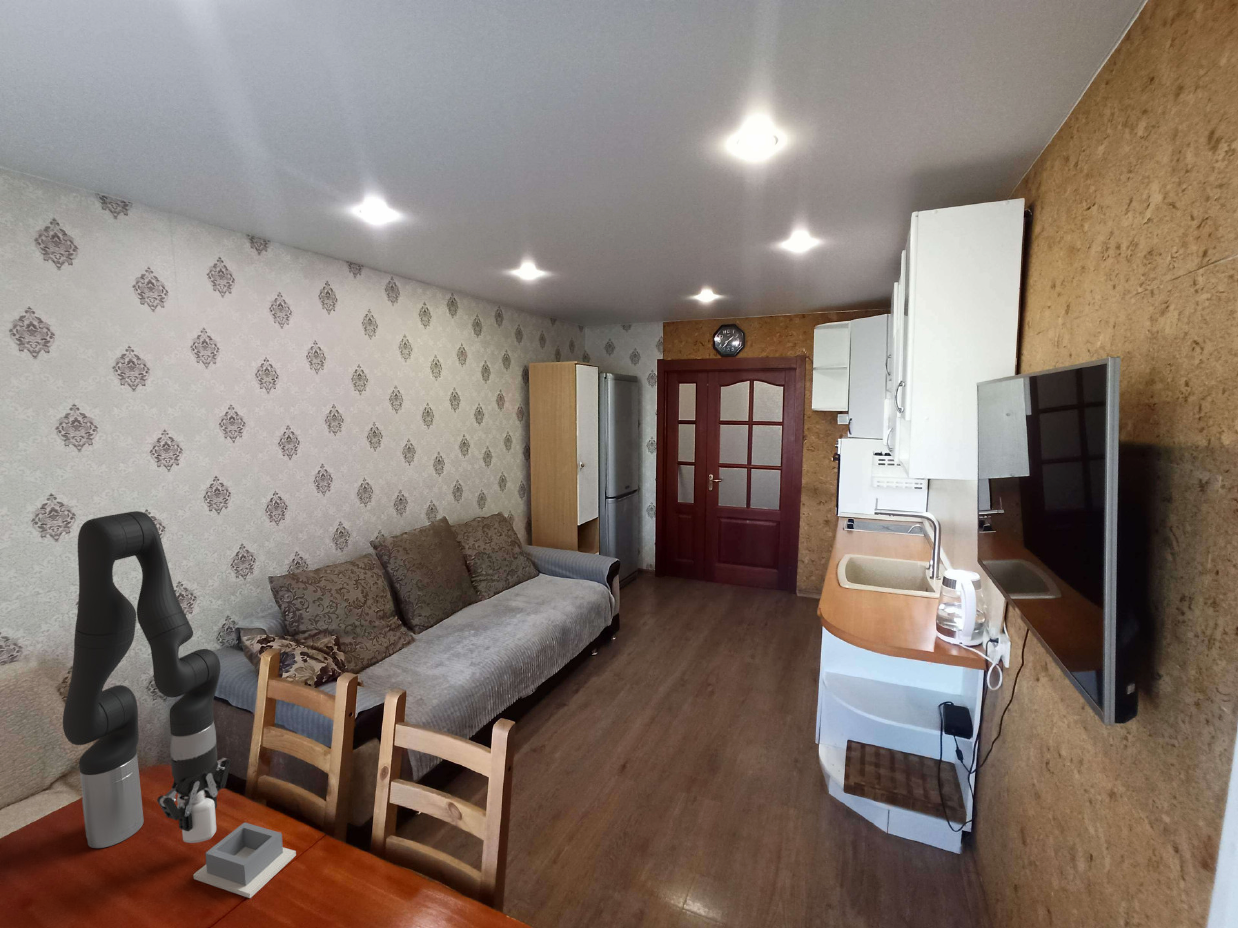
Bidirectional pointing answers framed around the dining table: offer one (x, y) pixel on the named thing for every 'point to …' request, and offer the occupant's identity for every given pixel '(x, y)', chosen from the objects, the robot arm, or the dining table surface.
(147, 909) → the dining table surface
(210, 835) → the eye dropper bottle
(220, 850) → the socket
